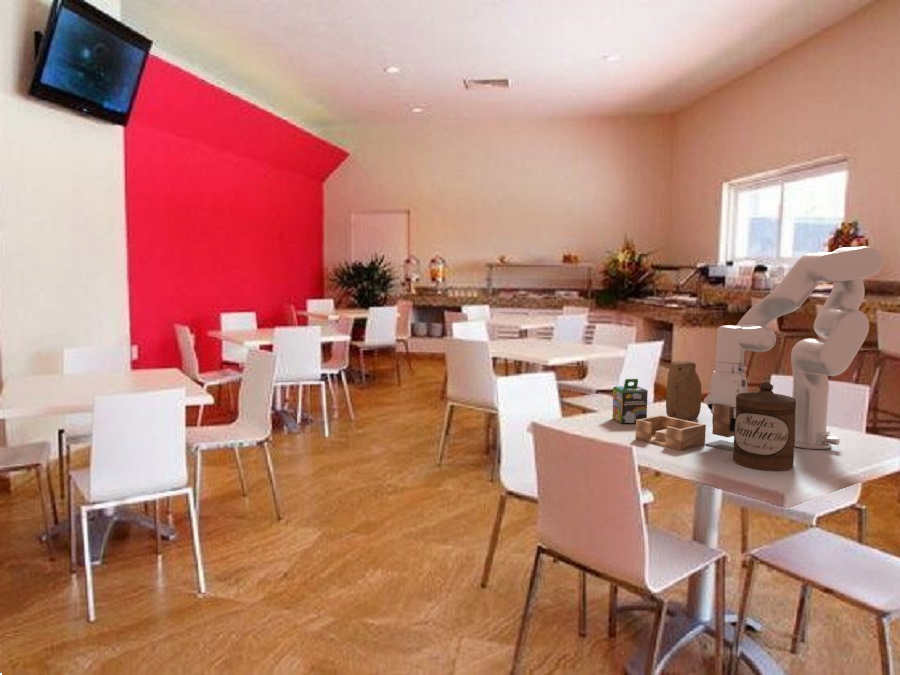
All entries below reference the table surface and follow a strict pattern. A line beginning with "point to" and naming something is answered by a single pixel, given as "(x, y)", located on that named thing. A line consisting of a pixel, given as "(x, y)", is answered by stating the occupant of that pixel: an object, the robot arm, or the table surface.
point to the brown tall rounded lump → (683, 391)
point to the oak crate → (670, 432)
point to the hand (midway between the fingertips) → (725, 428)
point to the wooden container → (764, 430)
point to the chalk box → (629, 402)
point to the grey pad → (722, 445)
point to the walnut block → (722, 420)
